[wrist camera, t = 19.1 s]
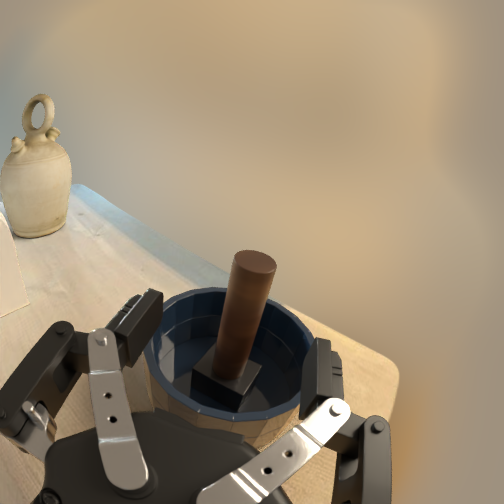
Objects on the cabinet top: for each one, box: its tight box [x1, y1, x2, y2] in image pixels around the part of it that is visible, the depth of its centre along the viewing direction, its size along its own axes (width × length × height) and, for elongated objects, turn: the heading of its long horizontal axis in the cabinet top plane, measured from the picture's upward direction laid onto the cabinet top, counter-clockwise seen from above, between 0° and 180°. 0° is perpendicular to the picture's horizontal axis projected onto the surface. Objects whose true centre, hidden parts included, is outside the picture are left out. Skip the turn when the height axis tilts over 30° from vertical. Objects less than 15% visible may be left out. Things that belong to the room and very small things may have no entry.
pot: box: [142, 287, 314, 449], centre depth 23 cm, size 14×14×7 cm
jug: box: [0, 94, 72, 238], centre depth 36 cm, size 15×16×25 cm
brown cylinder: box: [191, 250, 277, 411], centre depth 21 cm, size 5×4×14 cm
